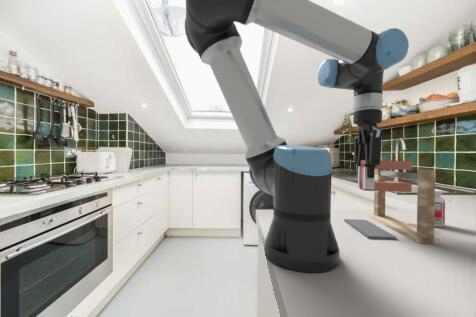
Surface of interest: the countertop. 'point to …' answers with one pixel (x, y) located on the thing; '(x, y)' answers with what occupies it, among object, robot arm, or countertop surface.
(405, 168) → the c link
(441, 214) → the pill bottle
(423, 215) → the stand
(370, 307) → the countertop surface
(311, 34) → the robot arm
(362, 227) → the mat
